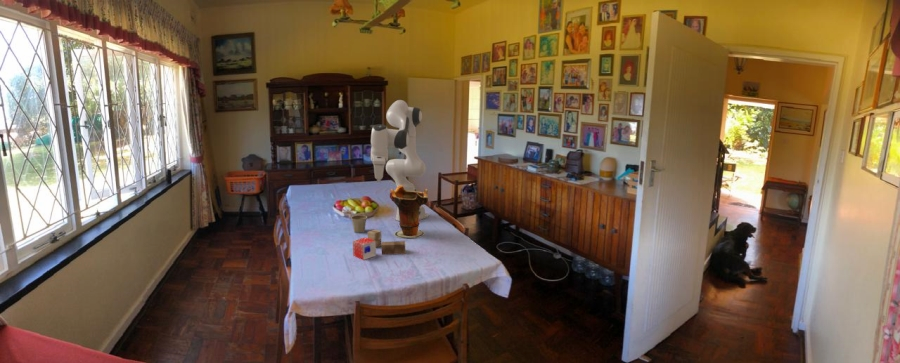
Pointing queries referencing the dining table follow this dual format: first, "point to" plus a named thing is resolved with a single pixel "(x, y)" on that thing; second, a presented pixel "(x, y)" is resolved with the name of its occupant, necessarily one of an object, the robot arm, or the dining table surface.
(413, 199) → the decorative vase
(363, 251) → the red and cream cube
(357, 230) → the flower pot
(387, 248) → the walnut block
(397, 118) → the robot arm
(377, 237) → the oak block
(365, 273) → the dining table surface
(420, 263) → the dining table surface
